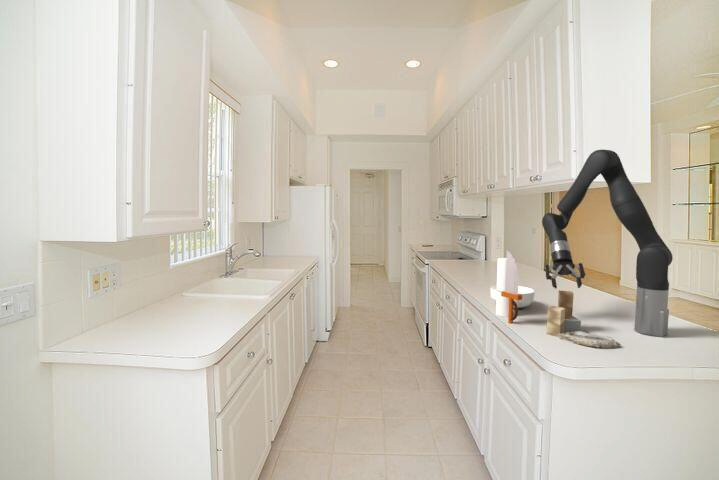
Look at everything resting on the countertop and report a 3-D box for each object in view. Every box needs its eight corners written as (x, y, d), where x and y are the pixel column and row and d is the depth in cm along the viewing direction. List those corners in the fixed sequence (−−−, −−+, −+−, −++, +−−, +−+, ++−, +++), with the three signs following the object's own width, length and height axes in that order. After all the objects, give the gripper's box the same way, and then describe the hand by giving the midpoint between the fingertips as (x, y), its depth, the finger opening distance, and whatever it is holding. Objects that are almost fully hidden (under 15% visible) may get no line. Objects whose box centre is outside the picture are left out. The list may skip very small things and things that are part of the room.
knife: (500, 320, 149) (502, 250, 147) (504, 319, 150) (506, 249, 148) (516, 325, 142) (519, 252, 139) (521, 325, 143) (523, 251, 141)
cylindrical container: (514, 317, 154) (516, 260, 151) (497, 316, 155) (499, 260, 153) (511, 312, 160) (512, 258, 158) (494, 311, 162) (496, 257, 160)
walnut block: (570, 316, 139) (571, 291, 138) (571, 319, 135) (573, 294, 134) (557, 314, 141) (558, 290, 140) (558, 318, 137) (560, 292, 136)
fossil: (557, 342, 125) (558, 334, 125) (561, 333, 133) (561, 326, 133) (620, 355, 115) (620, 346, 114) (620, 344, 122) (621, 336, 122)
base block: (569, 326, 142) (570, 314, 141) (580, 333, 134) (580, 320, 133) (549, 326, 142) (549, 314, 142) (558, 332, 134) (558, 320, 134)
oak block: (563, 334, 132) (564, 308, 131) (559, 337, 129) (560, 310, 128) (550, 331, 136) (551, 305, 135) (546, 334, 132) (547, 308, 132)
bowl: (543, 310, 165) (544, 292, 164) (506, 313, 160) (507, 294, 159) (515, 299, 184) (516, 284, 183) (482, 302, 179) (482, 285, 178)
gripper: (543, 250, 153) (548, 284, 145) (580, 247, 148) (588, 283, 140) (542, 258, 159) (547, 291, 151) (578, 256, 154) (585, 290, 146)
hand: (567, 287), depth 146 cm, fingers open, 8 cm apart
